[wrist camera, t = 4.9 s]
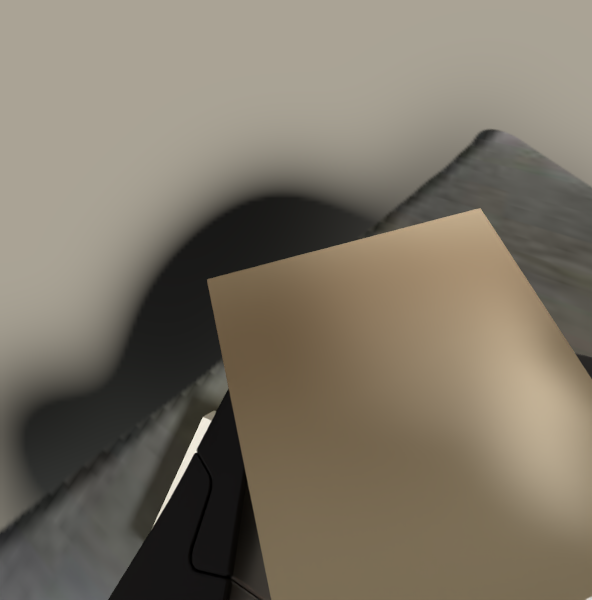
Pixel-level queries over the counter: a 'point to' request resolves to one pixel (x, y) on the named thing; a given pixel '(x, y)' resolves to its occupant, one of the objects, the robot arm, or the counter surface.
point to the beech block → (409, 421)
